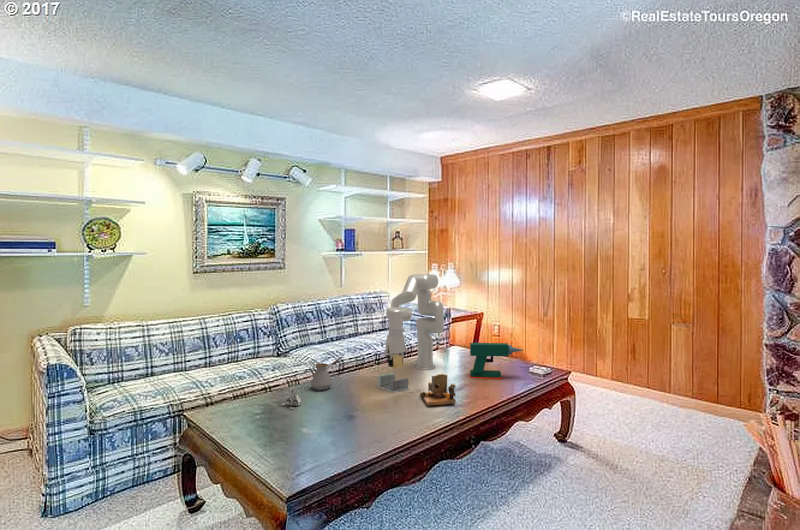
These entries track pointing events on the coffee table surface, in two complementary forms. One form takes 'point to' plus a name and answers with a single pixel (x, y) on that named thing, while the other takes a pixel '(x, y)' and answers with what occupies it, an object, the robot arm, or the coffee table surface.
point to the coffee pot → (322, 376)
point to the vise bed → (388, 387)
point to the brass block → (397, 361)
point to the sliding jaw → (386, 378)
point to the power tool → (481, 354)
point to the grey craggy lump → (293, 399)
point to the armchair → (439, 391)
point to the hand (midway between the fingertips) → (395, 365)
